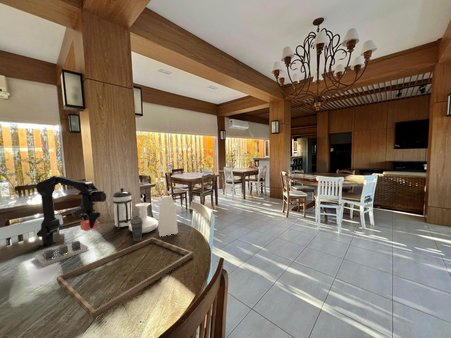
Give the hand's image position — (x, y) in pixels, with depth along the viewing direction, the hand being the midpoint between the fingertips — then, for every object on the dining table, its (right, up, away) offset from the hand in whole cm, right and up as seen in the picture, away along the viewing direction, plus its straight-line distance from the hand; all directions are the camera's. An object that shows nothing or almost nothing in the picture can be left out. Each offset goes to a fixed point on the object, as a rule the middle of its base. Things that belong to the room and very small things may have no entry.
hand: (89, 226), depth 121 cm
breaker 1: (-8, -10, -19) cm, 23 cm away
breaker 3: (-1, -10, -9) cm, 13 cm away
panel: (-6, -12, -13) cm, 18 cm away
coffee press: (+7, -9, +29) cm, 31 cm away
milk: (+44, -9, +18) cm, 48 cm away
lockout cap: (0, -1, 0) cm, 1 cm away
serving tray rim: (+40, -13, -26) cm, 49 cm away
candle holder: (+25, -9, +22) cm, 35 cm away
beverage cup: (+27, -10, +6) cm, 30 cm away
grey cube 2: (-4, -10, -14) cm, 17 cm away
